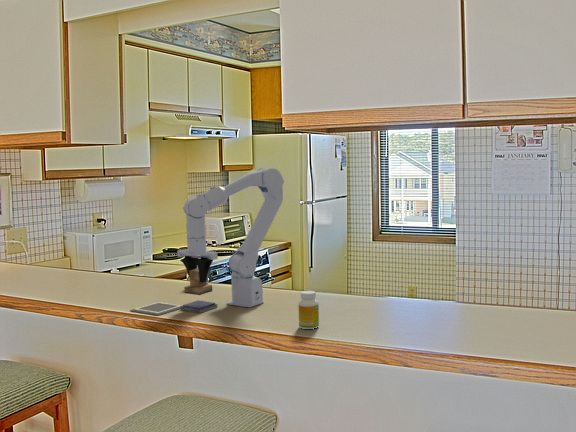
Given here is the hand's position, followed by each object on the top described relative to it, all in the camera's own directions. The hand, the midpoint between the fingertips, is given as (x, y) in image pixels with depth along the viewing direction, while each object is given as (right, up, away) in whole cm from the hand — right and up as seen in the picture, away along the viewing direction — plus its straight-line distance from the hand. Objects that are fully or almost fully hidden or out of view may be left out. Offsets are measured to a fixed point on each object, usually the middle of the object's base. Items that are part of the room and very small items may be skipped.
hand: (198, 281), depth 194 cm
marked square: (-13, -9, +1) cm, 15 cm away
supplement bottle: (+33, -10, -23) cm, 42 cm away
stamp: (0, -3, 0) cm, 3 cm away
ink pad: (0, -9, +1) cm, 9 cm away
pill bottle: (-4, -6, +35) cm, 35 cm away
